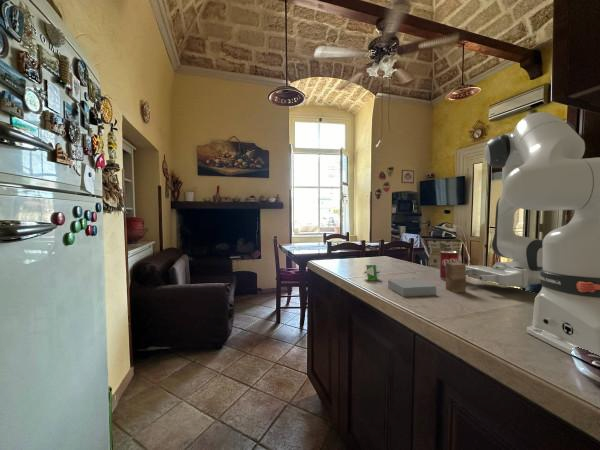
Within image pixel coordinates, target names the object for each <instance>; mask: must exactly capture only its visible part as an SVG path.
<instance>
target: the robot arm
mask: <svg viewBox="0 0 600 450" xmlns="http://www.w3.org/2000/svg"><path fill="white" fill-rule="evenodd" d="M575 128H576V127H575V126H574V125H573V124H572V123H570V122H568V121H564V120H563V119H562V118H560V117H558V116H556V115H554V114H552V113H550V112H546V111H538V112H533V113H530V114H528V115H526V116H524V117H522V118H521V119H520V120H519V121H518V122H517V124H516V125H515V127H514V130H513V131H512V132H508V133H505V134H504V133H503V134H499V135H497V136H494V137H492V138H490V139H489V140H488V141H487V142H485V143H486V144H485V147H484V151H483V156H484V159H485V161H486V162H487V163H486V164H488V167H489V166H490V167H491V168H497V169H498V168H502V169H501V171H502V172H501V179H502V180H501V181H502V183H501V185H502V191H501V195H500V197H499V198H498V199H497V202H496V205H495V206H496V207H495V219H494V220H495V222H494V235H493V238H492V243H491V246H492V247H491V248H492V250H493V253H494V254H495V255H496V256H498V257H500V258H504V259H505V258H506V259H510V260H512V261H498V262H496V263H494V264H493V266H492V267H490V266H485V265H465V269H466V276H469V277H470V276H471V277H473V278H477V279H479V281H481V282H491V283H495V284H497V285H499V286H501V285H504V286H503V287H516V288H520V289H521V288H522V289H527V288H528V286H532V285H534V286H535V285H539V284H540V285H541V289H540V290H539V292H538V294H537V295H536V296H535V298H534V305H533V313H532V314H533V315H532V323H531V325H530V326H527V327H526V333H528V334H529V335H531V336H532V337H535V338H537V339H539V340H541V341H542V342H544V343H547V344H549V345H551V346H553V347H555V348H557V349H559V350H560V351H563V352H565V353H566V354H568V355H571V352H572V351H573V349H572V348H573V347H579V348H582V349H585V350H588V351H589V352H591V353H594V354H597V355H599V356H600V157H591V158H590V157H589V158H588V157H587V158H583V156H584V155H585V151H586V142H585V140H584V139H583V138H582V137H581V136H580V135H579V134H578V133H577V130H576V129H575ZM519 209H520V210H521V209H522V210H526V211H527V210H529V211H537V212H542V211H543V212H544V211H545V212H547V211H573V210H574V214H573V217H572V218H571V220H570V221H568V223H567V224H565V225H562V226H560V227H558V228H555V229H553V230H551V231H549V232H548V233H547V234H546V235H544V238H543V239H539V238H534V237H529V236H523V235H518V234H516V233H515V232H514V225H515V214H516V212H517V211H518V210H519ZM571 356H572V355H571Z"/></svg>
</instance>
